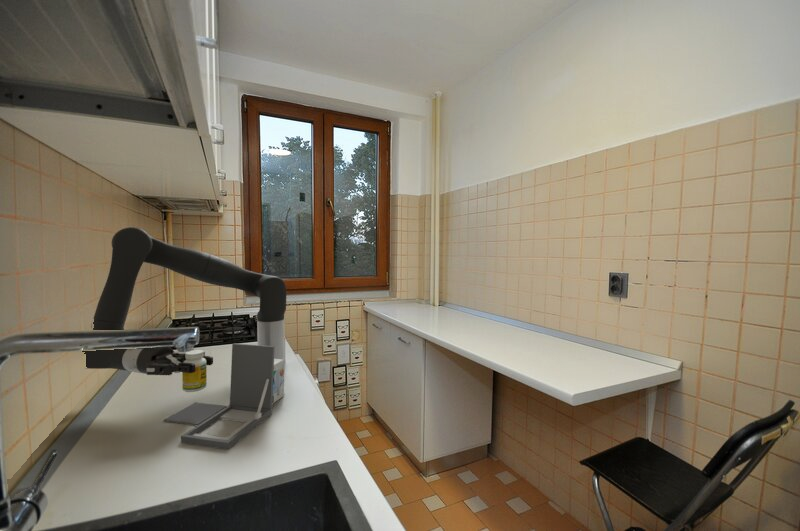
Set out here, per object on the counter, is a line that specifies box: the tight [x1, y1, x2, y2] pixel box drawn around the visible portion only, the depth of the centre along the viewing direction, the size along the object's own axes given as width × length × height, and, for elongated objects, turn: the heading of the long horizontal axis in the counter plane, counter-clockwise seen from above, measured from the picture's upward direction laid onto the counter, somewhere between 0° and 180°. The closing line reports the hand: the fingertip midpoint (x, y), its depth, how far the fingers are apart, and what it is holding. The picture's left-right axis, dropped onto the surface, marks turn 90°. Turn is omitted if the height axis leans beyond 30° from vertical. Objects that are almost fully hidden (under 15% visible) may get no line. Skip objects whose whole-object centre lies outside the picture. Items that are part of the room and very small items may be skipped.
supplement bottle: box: [181, 349, 208, 393], centre depth 88 cm, size 5×5×10 cm
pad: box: [163, 401, 228, 426], centre depth 89 cm, size 10×10×1 cm
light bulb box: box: [272, 359, 285, 405], centre depth 96 cm, size 11×7×11 cm, turn 169°
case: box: [180, 342, 275, 450], centre depth 83 cm, size 18×12×18 cm
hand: (203, 364), depth 87 cm, fingers closed on supplement bottle, 5 cm apart
